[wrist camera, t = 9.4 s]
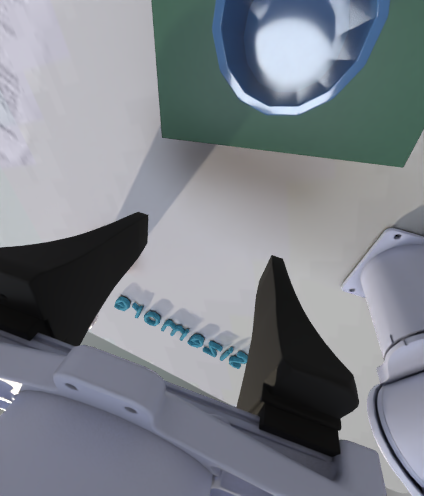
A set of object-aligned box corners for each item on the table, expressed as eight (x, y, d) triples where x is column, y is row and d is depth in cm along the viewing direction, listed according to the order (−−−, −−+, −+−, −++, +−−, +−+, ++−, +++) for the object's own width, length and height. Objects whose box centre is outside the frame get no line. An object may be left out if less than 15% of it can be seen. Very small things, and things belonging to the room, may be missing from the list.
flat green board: (511, -126, 11) (599, -201, 8) (384, 148, 18) (403, 167, 15) (175, -106, 13) (139, -154, 10) (181, 125, 20) (161, 137, 17)
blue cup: (383, -38, 10) (444, -103, 6) (321, 110, 14) (333, 132, 10) (257, -63, 11) (234, -138, 7) (229, 86, 14) (202, 98, 10)
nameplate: (310, 404, 42) (331, 396, 39) (310, 409, 41) (331, 401, 38) (115, 306, 40) (120, 289, 36) (112, 310, 39) (117, 293, 36)
